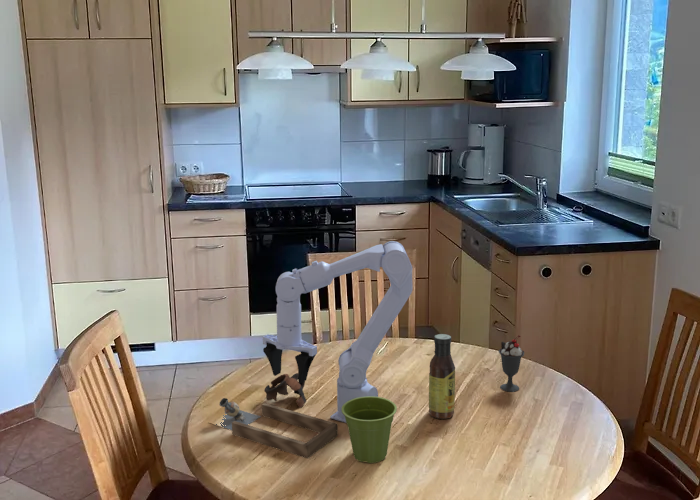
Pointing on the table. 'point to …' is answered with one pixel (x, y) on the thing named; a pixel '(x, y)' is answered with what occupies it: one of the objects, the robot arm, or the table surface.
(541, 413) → the table surface
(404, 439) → the table surface
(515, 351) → the sundae
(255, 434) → the walnut tray
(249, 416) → the slate coaster
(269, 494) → the table surface
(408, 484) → the table surface
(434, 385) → the sauce bottle
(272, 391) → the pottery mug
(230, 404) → the vase
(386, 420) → the plant pot
